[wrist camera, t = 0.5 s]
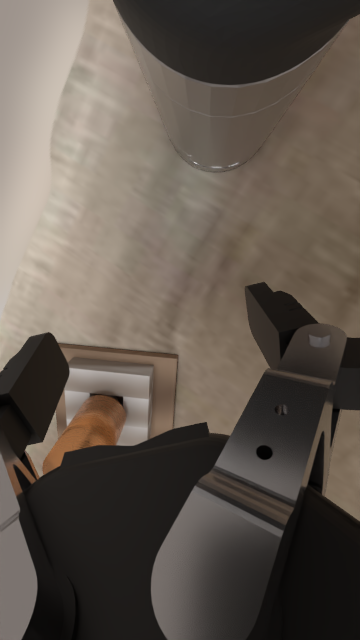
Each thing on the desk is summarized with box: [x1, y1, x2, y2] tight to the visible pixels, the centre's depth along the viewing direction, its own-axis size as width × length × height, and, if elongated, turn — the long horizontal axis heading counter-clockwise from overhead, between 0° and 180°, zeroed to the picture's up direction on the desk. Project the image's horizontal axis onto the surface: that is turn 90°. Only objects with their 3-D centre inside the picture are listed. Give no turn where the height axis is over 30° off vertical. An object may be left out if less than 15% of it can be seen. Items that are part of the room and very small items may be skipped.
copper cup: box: [43, 394, 126, 475], centre depth 28 cm, size 5×5×11 cm
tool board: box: [56, 343, 178, 446], centre depth 35 cm, size 22×14×4 cm, turn 176°
